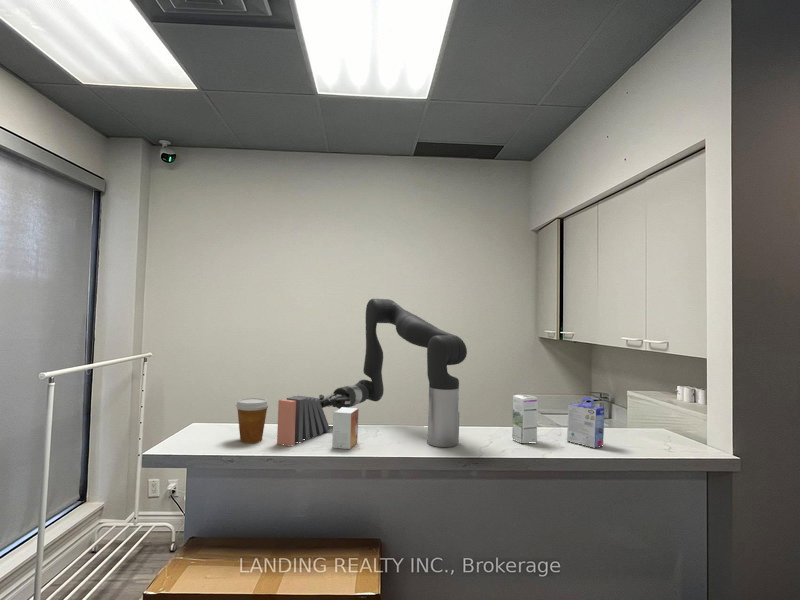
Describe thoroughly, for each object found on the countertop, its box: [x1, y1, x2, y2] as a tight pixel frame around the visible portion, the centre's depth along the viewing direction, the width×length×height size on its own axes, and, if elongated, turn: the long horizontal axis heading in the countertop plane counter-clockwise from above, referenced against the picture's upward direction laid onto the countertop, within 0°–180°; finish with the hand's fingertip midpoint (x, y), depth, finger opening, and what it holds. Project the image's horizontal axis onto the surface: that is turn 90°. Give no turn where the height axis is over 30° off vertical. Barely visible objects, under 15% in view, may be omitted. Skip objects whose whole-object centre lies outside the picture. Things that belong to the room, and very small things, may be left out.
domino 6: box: [314, 397, 330, 433], centre depth 159 cm, size 2×5×13 cm
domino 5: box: [304, 395, 324, 436], centre depth 156 cm, size 2×5×13 cm, turn 65°
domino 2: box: [286, 396, 304, 444], centre depth 148 cm, size 2×5×13 cm, turn 65°
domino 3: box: [292, 395, 311, 441], centre depth 151 cm, size 2×5×13 cm, turn 65°
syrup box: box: [512, 394, 538, 444], centre depth 157 cm, size 6×6×14 cm
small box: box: [331, 407, 360, 450], centre depth 146 cm, size 8×6×10 cm
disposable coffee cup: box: [235, 397, 270, 444], centre depth 148 cm, size 10×10×12 cm
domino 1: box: [276, 398, 296, 447], centre depth 145 cm, size 2×5×13 cm, turn 65°
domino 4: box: [298, 395, 318, 438], centre depth 153 cm, size 2×5×13 cm, turn 65°
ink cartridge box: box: [566, 397, 605, 448], centre depth 156 cm, size 10×6×14 cm, turn 39°
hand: (319, 404), depth 160 cm, fingers closed
